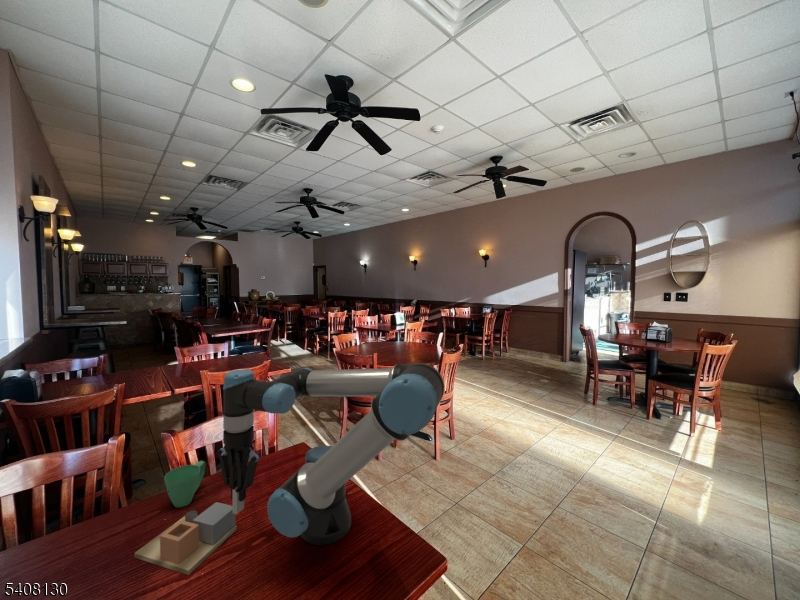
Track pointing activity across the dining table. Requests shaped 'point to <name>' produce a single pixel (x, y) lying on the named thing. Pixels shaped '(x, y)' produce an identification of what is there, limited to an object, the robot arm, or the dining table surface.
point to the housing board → (190, 562)
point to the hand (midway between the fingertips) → (238, 510)
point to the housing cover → (215, 522)
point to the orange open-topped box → (179, 542)
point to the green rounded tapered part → (184, 483)
